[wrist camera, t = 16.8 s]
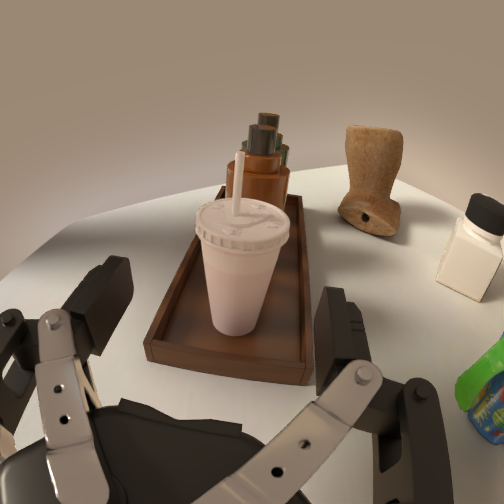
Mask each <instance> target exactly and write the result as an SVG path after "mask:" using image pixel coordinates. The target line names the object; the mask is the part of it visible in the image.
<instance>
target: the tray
mask: <svg viewBox="0 0 504 504" xmlns="http://www.w3.org/2000/svg"><path fill="white" fill-rule="evenodd" d="M225 194H226V186H222V187H221V189H220V191H219V193H218V195H217V196H216V198H215V200H219V199H224V198H225ZM215 200H214V201H215ZM284 213H285V214H286V215H287V216H288V218H289V220H290V228H289V238H288V240H287V242H286V243H285V244H284V245H283V246H281V248H280V252H279V255H278V259H277V261H276V264H275V267H274V271H273V274H272V277H271V280H270V283H269V286H268V289H267V292H266V295H265V298H264V301H263V304H262V307H261V310H260V313H259V316H258V319H257V322H256V325H255V328H254V329H253V330H252V331H251V332H250V333H248V334H246V335H242V336H229V335H225V334H223V333H221V332H220V331H218V330H217V329H216V328H215V326H214V325H213V321H212V315H211V309H210V302H209V296H208V289H207V282H206V275H205V268H204V261H203V255H202V246H201V239H200V238H199V237H198V235H197V234H196V236H195V237H194V239H193V241H192V243H191V245H190V247H189V249H188V251H187V253H186V255H185V257H184V259H183V261H182V263H181V265H180V267H179V269H178V271H177V273H176V275H175V277H174V279H173V281H172V283H171V285H170V287H169V289H168V291H167V293H166V295H165V297H164V299H163V301H162V303H161V305H160V307H159V309H158V311H157V314H156V316H155V318H154V320H153V322H152V324H151V326H150V328H149V331H148V333H147V335H146V337H145V339H144V341H143V345H144V349H145V353H146V357H147V361H151V362H156V363H160V364H165V365H169V366H174V367H179V368H183V369H188V370H194V371H199V372H204V373H210V374H216V375H222V376H228V377H235V378H241V379H248V380H256V381H264V382H272V383H281V384H291V385H302V386H307V384H308V382H309V380H310V377H311V375H312V373H313V370H314V360H313V336H312V316H311V299H310V284H309V270H308V257H307V245H306V234H305V223H304V212H303V203H302V196H298V195H291V194H287V197H286V203H285V210H284Z"/></svg>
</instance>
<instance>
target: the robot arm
mask: <svg viewBox="0 0 504 504" xmlns="http://www.w3.org/2000/svg"><path fill="white" fill-rule="evenodd" d="M133 292H134V286H133V280H132V274H131V268H130V262H129V259H128V258H126V257H120V256H114V255H111V256H109V257H108V259H107V260H106V261H105V262H104V264H103V265H98V266H97V267H95V268H94V269H92V270H90V271H89V272H88V274H87V275H86V276H85V277H84V279H83V281H81V282H80V284H79V285H78V287H77V288H76V289H75V290H74V291H73V293H72V294H71V295H70V297H69V298H68V299H67V301H66V302H65V303H64V305H63V306H62V307H61V309H52V310H50V311H47V312H46V313H44V314H43V315H42V316H41V318H40V319H24V317H23V315H22V313H21V311H20V310H18V309H8V310H6V311H4V312H2V313H1V314H0V504H311V503H310V501H309V500H308V499H307V498H306V496H305V495H304V494H303V493H302V491H301V490H300V488H301V487H302V486H303V485H304V484H305V483H306V482H307V481H308V480H309V479H310V478H311V476H312V475H313V474H314V473H315V472H316V471H317V470H318V469H319V467H320V466H321V465H322V464H323V463H324V462H325V461H326V459H327V458H328V457H329V456H330V455H331V453H332V452H333V451H334V450H335V449H336V447H337V446H338V445H339V444H340V442H341V441H342V440H343V439H344V437H345V436H346V435H347V433H348V432H349V431H350V429H351V428H352V427H353V428H356V429H359V430H362V431H366V432H369V433H372V441H373V504H454V499H453V487H452V477H451V468H450V461H449V453H448V447H447V440H446V435H445V429H444V423H443V418H442V413H441V408H440V403H439V399H438V394H437V391H436V389H435V387H434V386H433V385H432V384H431V383H430V382H429V381H427V380H425V379H423V378H412V379H410V380H409V381H407V382H406V384H401V383H398V382H395V381H392V380H389V379H386V378H384V377H383V376H382V373H381V371H380V370H379V368H378V367H377V366H376V365H374V364H373V363H372V361H371V356H370V351H369V346H368V342H367V337H366V332H365V328H364V324H363V319H362V314H361V311H360V310H359V309H358V307H357V306H356V305H355V303H354V302H346V298H345V293H344V289H343V288H335V287H327V286H325V287H324V288H323V291H322V295H321V298H320V301H319V305H318V308H317V311H316V315H315V319H314V345H315V367H316V396H319V397H318V398H317V399H316V400H315V401H311V402H310V403H309V404H308V405H307V406H306V407H305V408H304V409H303V410H302V411H301V412H300V413H299V414H298V415H297V416H296V417H295V418H294V419H293V420H292V421H291V422H290V423H289V424H288V425H287V426H286V427H285V428H284V429H283V430H282V431H280V432H279V433H278V434H277V435H276V436H275V437H274V438H273V439H272V440H271V441H270V442H269V443H268V444H267V445H264V444H263V443H262V442H261V441H259V440H258V439H256V438H255V437H253V436H251V435H249V434H246V433H244V432H241V431H242V424H238V423H231V422H225V421H219V420H213V419H202V420H177V419H174V418H172V417H170V416H168V415H166V414H164V413H162V412H160V411H158V410H156V409H154V408H152V407H150V406H148V405H144V404H141V403H137V402H134V401H130V400H127V399H123V398H121V400H120V402H119V405H115V406H105V407H102V405H101V403H100V400H99V397H98V394H97V391H96V387H95V383H94V380H93V376H92V372H91V368H90V364H89V361H88V357H89V356H90V354H94V355H97V356H101V354H102V352H103V350H104V348H105V347H106V345H107V343H108V341H109V339H110V337H111V336H112V334H113V332H114V330H115V328H116V326H117V325H118V323H119V321H120V319H121V318H122V316H123V314H124V312H125V311H126V309H127V307H128V305H129V304H130V302H131V300H132V297H133ZM11 356H13V358H14V359H15V360H14V362H13V363H12V365H11V367H10V369H9V371H8V372H7V374H6V376H5V378H4V380H3V378H2V372H3V369H4V367H5V366H6V364H7V362H8V361H9V359H10V357H11ZM36 385H37V393H38V400H39V407H40V413H41V419H42V425H43V430H44V435H45V437H44V438H42V439H40V440H38V441H36V442H35V443H33V444H31V445H29V446H27V447H25V448H23V449H21V450H20V451H18V452H17V451H16V448H15V447H14V446H15V442H14V438H13V436H14V433H15V431H16V428H17V426H18V424H19V421H20V419H21V417H22V415H23V412H24V410H25V408H26V406H27V404H28V402H29V399H30V397H31V395H32V393H33V391H34V389H35V387H36Z"/></svg>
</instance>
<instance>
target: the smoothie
mask: <svg viewBox="0 0 504 504" xmlns="http://www.w3.org/2000/svg"><path fill="white" fill-rule="evenodd" d="M244 160H245V152H241V151H238V152H236V158H235V170H234V183H233V196H232V198H224V199H219V200H215V201H212V202H209V203H207V204H205V205H203V206H202V207H201V208H200V209H199V210H198V211H197V213H196V224H195V232H196V234H197V235H198V237H199V238H200V239H201V246H202V255H203V261H204V268H205V275H206V282H207V289H208V296H209V302H210V309H211V315H212V321H213V325H214V326H215V328H216V329H217V330H218V331H220V332H221V333H223V334H225V335H229V336H242V335H246V334H248V333H250V332H251V331H252V330H253V329H254V328H255V325H256V322H257V319H258V316H259V313H260V310H261V307H262V304H263V301H264V298H265V295H266V292H267V289H268V286H269V283H270V280H271V277H272V274H273V271H274V267H275V264H276V261H277V259H278V255H279V252H280V248H281V246H283V245H284V244H285V243H286V242H287V240H288V238H289V228H290V220H289V218H288V216H287V215H286V214H285V213H284V212H283V211H282V210H281V209H279V208H277V207H276V206H274V205H271V204H269V203H266V202H263V201H259V200H255V199H248V198H241V193H242V182H243V171H244Z"/></svg>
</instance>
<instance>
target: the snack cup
mask: <svg viewBox="0 0 504 504" xmlns="http://www.w3.org/2000/svg"><path fill="white" fill-rule="evenodd" d="M455 397H456V400H457V402H458V405H459V407H460V409H461V410H463V411H464V412H465V411H468V410H469V418H470V420H471V421H472V422H473V423H474V425H475V427H476V428H477V430H478V431H479V432H480V433H481V434H482V436H484V437H485V438H487V439H488V440H489V441H490V443H493V444H495V445H497V444H502V443H504V332H503V335H502V336H501V338H500V340H499V341H498V342H497V343H496V344H495V345H494V346H493V347H492V348H490V349H489V350H488V351H487V352H486V353H485V354H484V355H483V356H482V357H481V358H480V359H479V360H478V361H477V362H476V363H475V364H474V365H472V366H471V367H470V368H469V369H468V370H466V371H465V372H464V373H463V374H462V375H461V376H460V377H459V378H458V380H457V382H456V384H455Z"/></svg>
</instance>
